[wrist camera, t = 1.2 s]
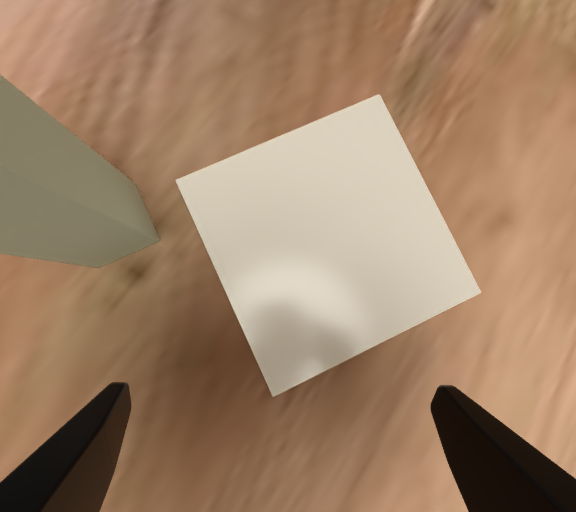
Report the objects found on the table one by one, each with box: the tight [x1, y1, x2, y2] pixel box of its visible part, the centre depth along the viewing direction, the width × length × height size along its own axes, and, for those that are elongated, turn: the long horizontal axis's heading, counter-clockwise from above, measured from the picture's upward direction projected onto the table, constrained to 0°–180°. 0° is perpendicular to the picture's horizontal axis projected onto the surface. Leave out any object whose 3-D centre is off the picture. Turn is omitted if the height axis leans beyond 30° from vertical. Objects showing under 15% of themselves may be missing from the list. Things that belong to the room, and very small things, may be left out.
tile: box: [176, 94, 481, 397], centre depth 24 cm, size 16×16×1 cm
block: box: [0, 75, 160, 268], centre depth 16 cm, size 4×4×14 cm
